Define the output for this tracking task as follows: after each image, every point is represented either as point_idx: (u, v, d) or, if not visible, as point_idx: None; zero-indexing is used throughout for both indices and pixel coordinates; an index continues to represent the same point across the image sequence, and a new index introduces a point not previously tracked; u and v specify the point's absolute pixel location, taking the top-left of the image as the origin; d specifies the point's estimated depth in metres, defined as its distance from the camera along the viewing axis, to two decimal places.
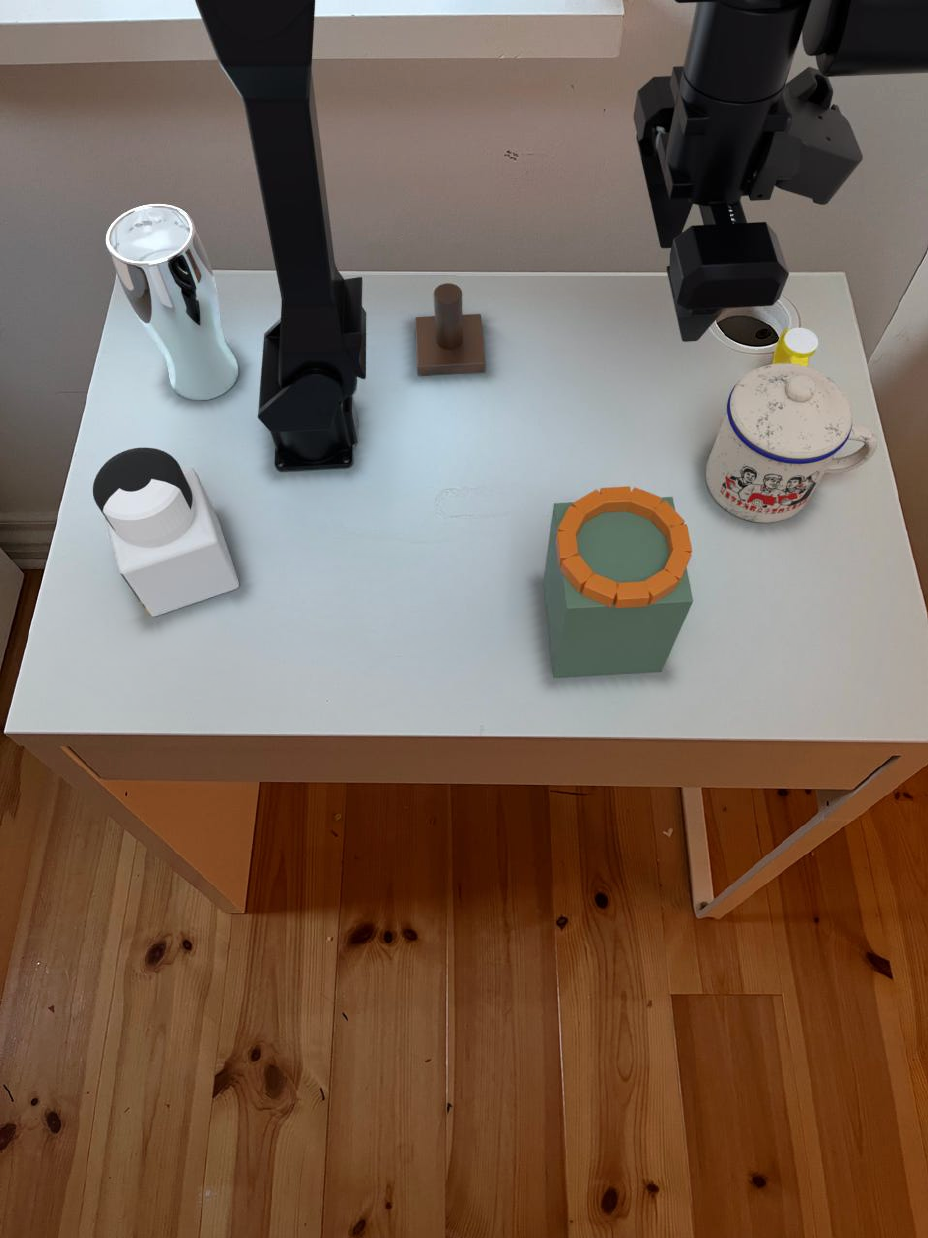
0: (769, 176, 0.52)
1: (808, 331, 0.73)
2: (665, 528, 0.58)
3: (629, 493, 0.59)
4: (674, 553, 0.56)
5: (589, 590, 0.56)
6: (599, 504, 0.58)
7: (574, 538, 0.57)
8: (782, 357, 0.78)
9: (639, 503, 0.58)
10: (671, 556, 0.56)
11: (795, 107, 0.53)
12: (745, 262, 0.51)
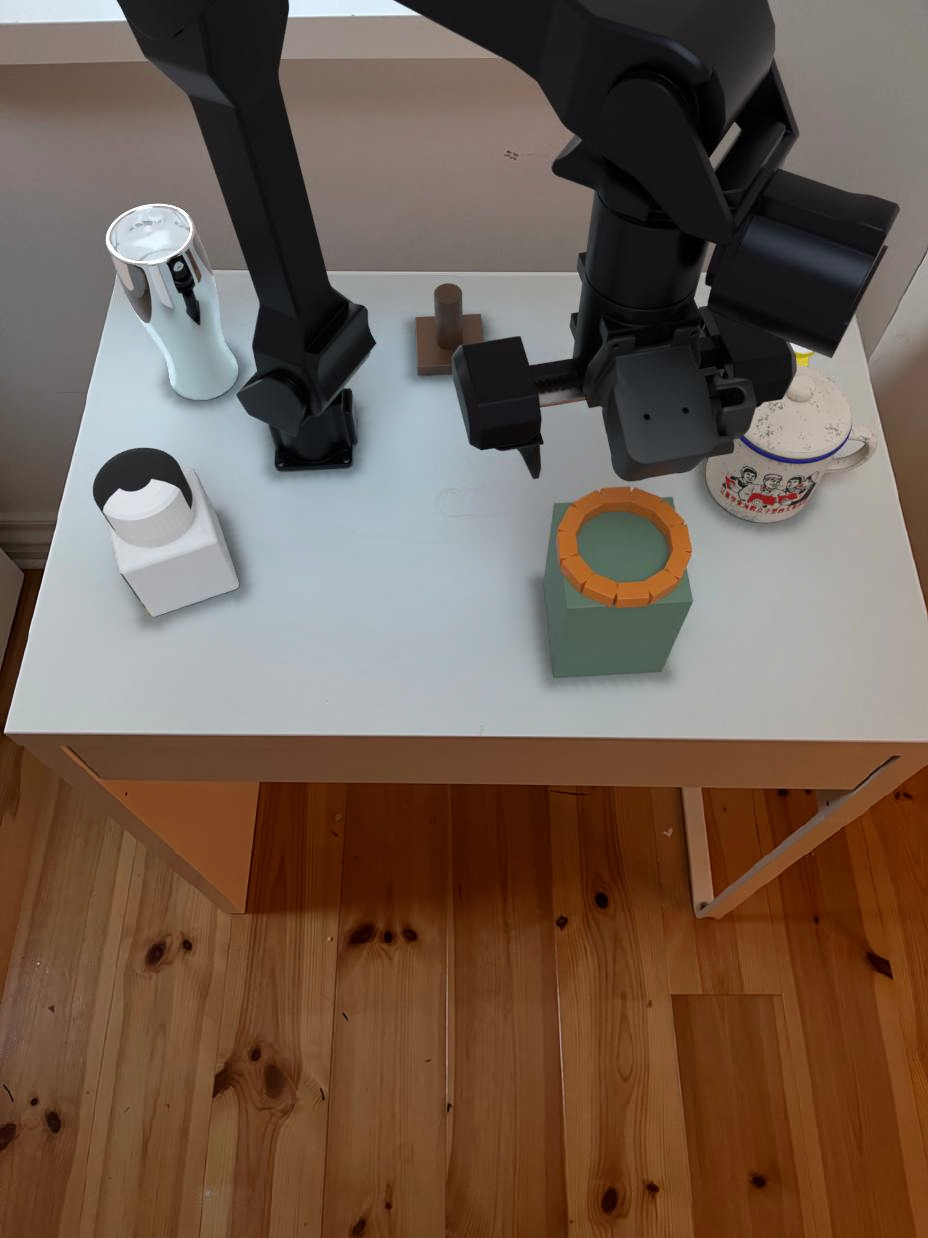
0: (589, 380, 0.47)
1: None
2: (665, 528, 0.58)
3: (629, 493, 0.59)
4: (674, 553, 0.56)
5: (589, 590, 0.56)
6: (599, 504, 0.58)
7: (574, 538, 0.57)
8: None
9: (639, 503, 0.58)
10: (671, 556, 0.56)
11: (680, 377, 0.45)
12: (473, 379, 0.49)
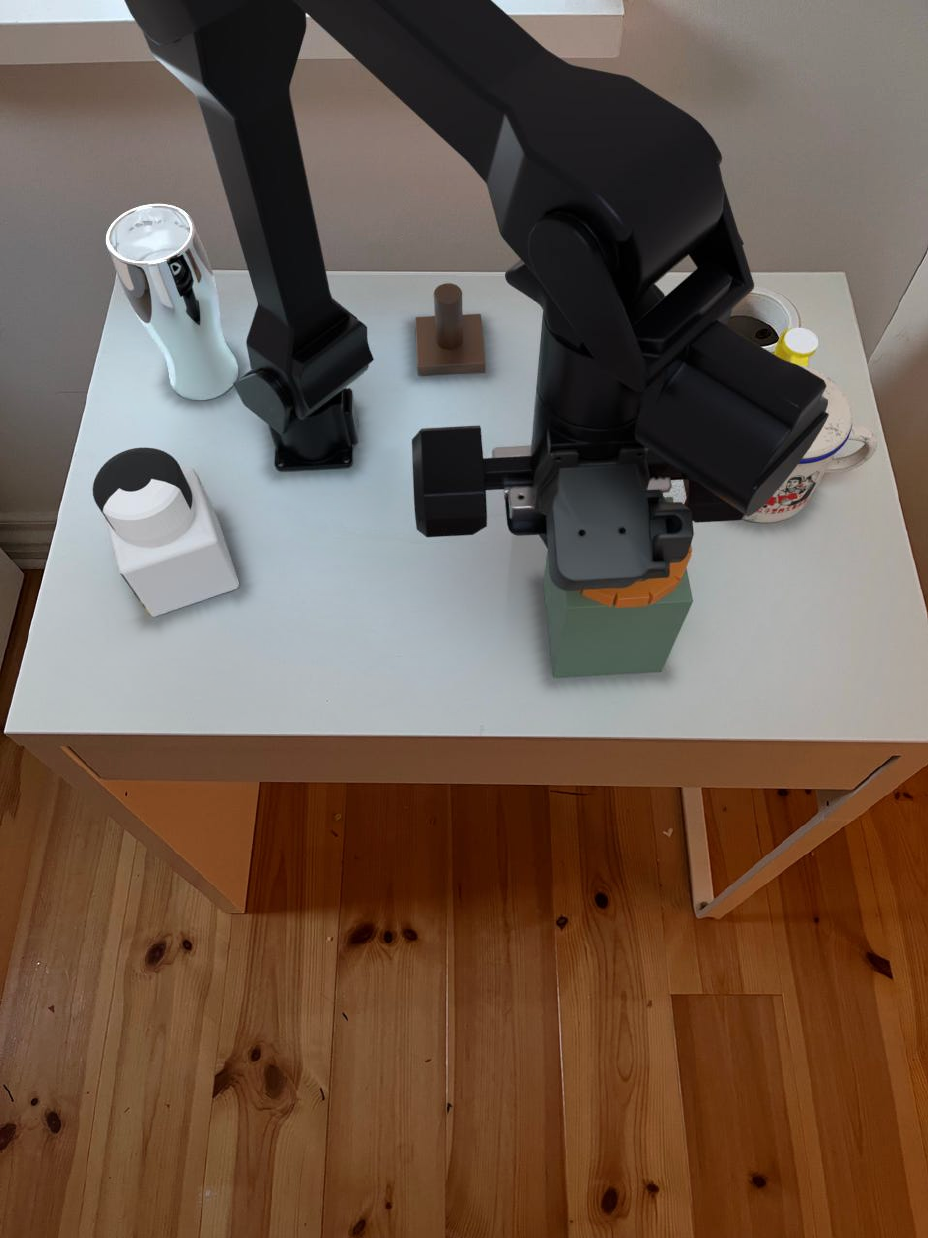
0: (535, 485, 0.47)
1: (808, 331, 0.73)
2: None
3: None
4: None
5: (589, 590, 0.56)
6: None
7: None
8: (782, 357, 0.78)
9: None
10: None
11: (622, 496, 0.44)
12: (425, 468, 0.48)
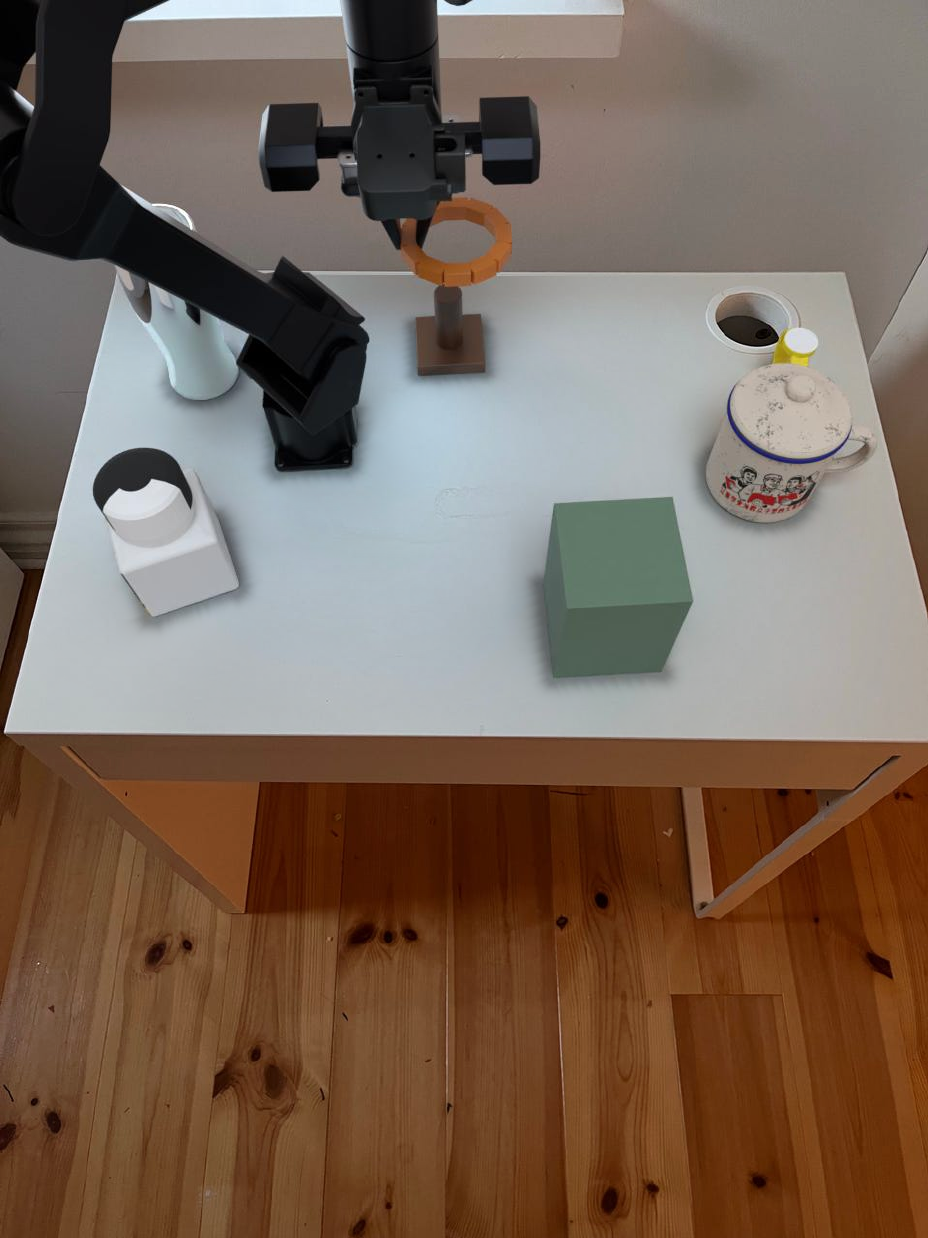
0: None
1: (808, 331, 0.73)
2: (493, 228, 0.68)
3: (465, 201, 0.69)
4: (496, 243, 0.67)
5: (422, 269, 0.66)
6: (439, 208, 0.69)
7: (414, 231, 0.68)
8: (782, 357, 0.78)
9: (473, 208, 0.69)
10: (493, 245, 0.67)
11: (413, 128, 0.55)
12: (269, 128, 0.59)
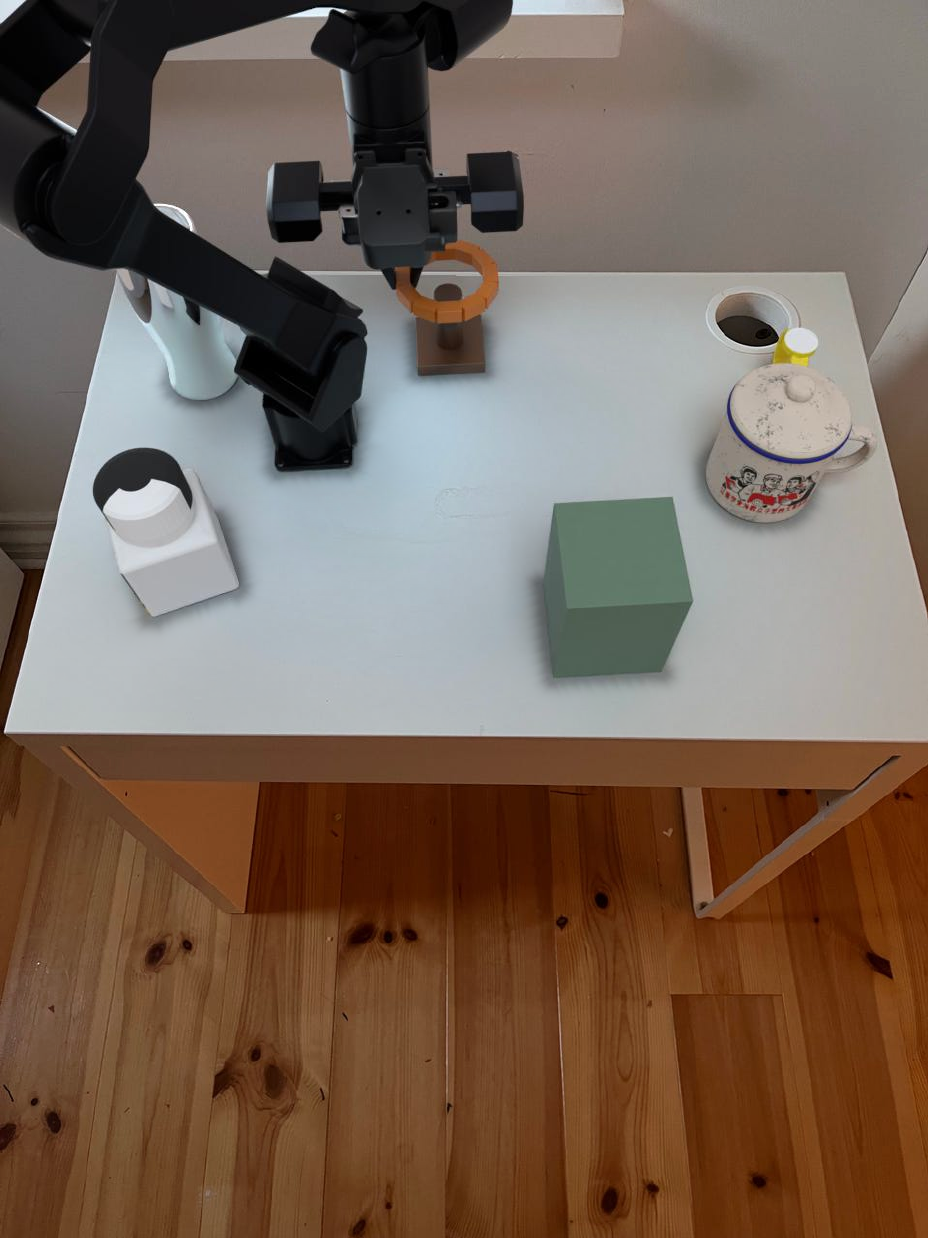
0: None
1: (808, 331, 0.73)
2: (480, 267, 0.74)
3: (454, 243, 0.75)
4: (484, 282, 0.73)
5: (416, 307, 0.72)
6: None
7: (408, 272, 0.73)
8: (782, 357, 0.78)
9: (461, 249, 0.75)
10: (482, 284, 0.73)
11: (409, 187, 0.61)
12: (275, 186, 0.65)
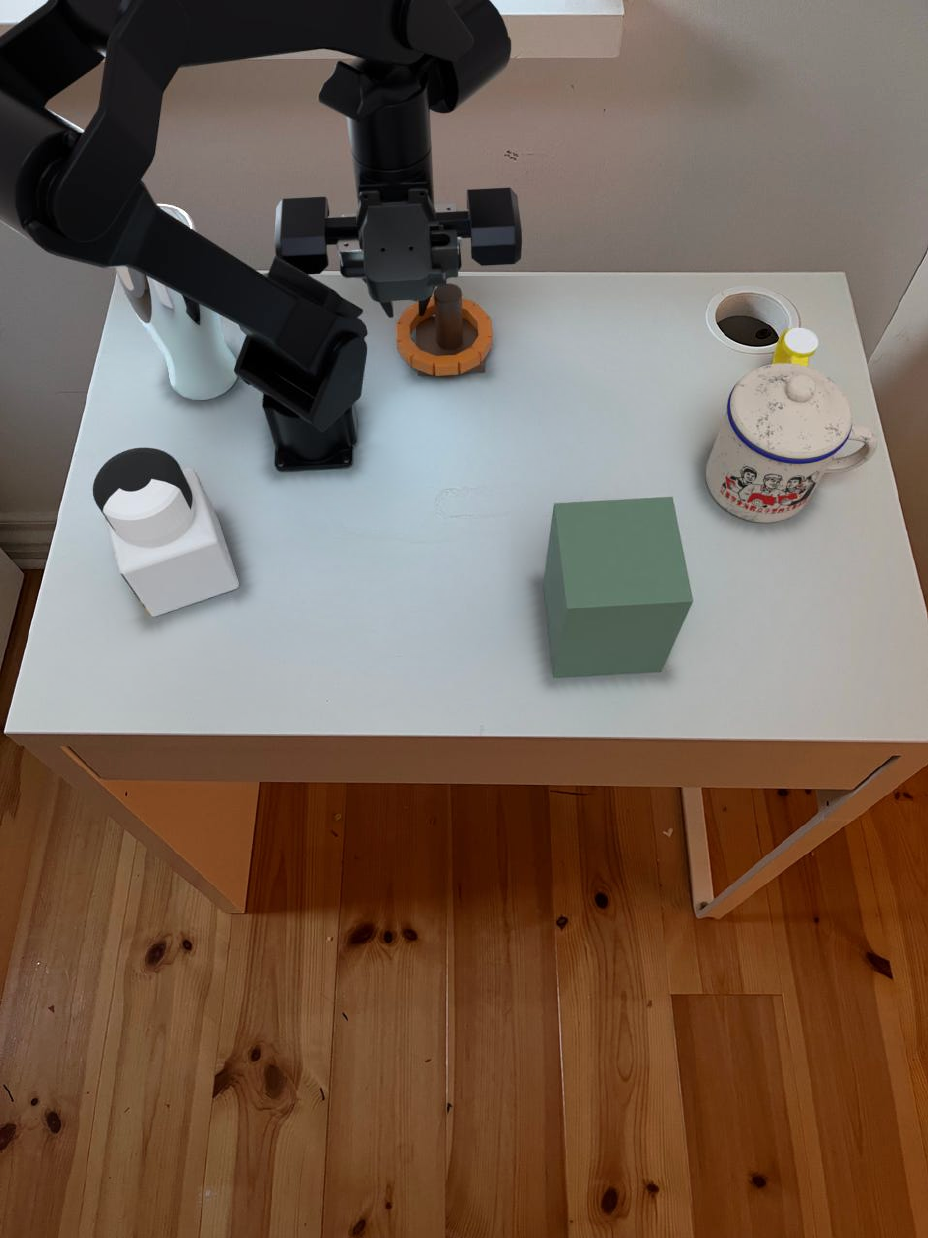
0: None
1: (808, 331, 0.73)
2: (476, 322, 0.80)
3: None
4: (479, 337, 0.78)
5: (416, 361, 0.77)
6: (429, 306, 0.80)
7: (408, 328, 0.79)
8: (782, 357, 0.78)
9: None
10: (476, 339, 0.78)
11: (411, 225, 0.63)
12: (283, 221, 0.68)
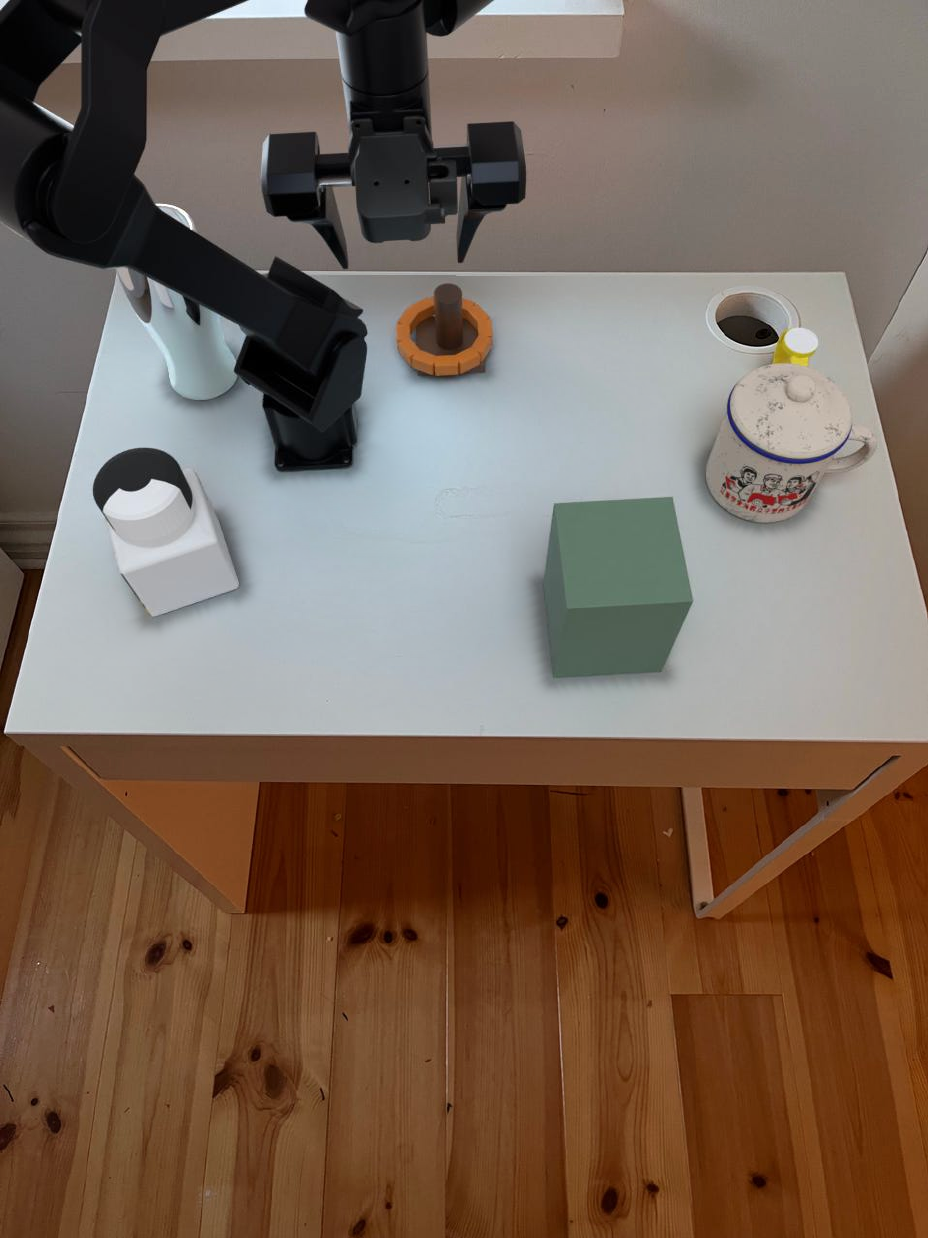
0: None
1: (808, 331, 0.73)
2: (476, 322, 0.80)
3: None
4: (479, 337, 0.78)
5: (416, 361, 0.77)
6: (429, 306, 0.80)
7: (408, 328, 0.79)
8: (782, 357, 0.78)
9: None
10: (476, 339, 0.78)
11: (407, 156, 0.59)
12: (270, 157, 0.63)
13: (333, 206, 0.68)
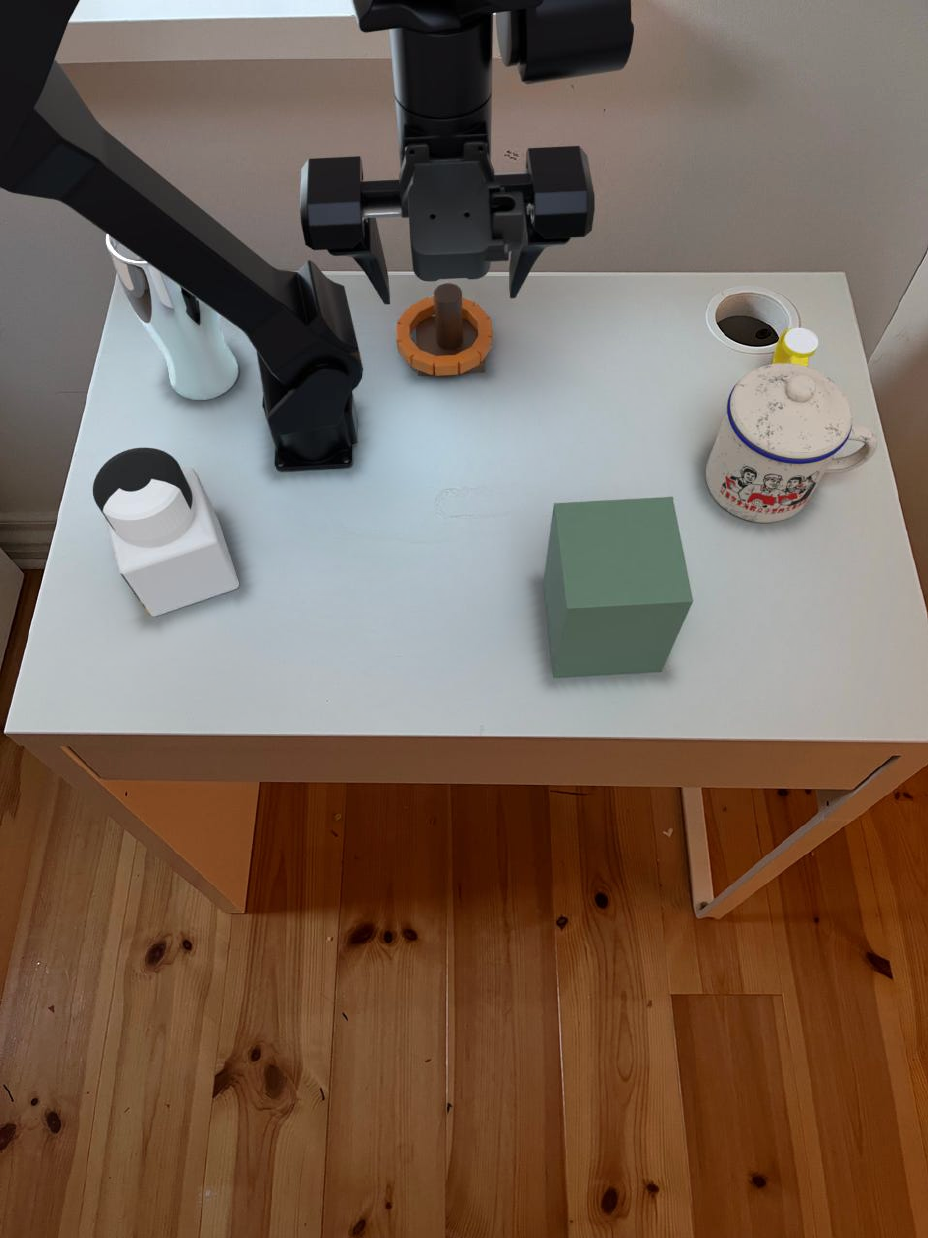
0: None
1: (808, 331, 0.73)
2: (476, 322, 0.80)
3: None
4: (479, 337, 0.78)
5: (416, 361, 0.77)
6: (429, 306, 0.80)
7: (408, 328, 0.79)
8: (782, 357, 0.78)
9: None
10: (476, 339, 0.78)
11: (467, 186, 0.53)
12: (310, 185, 0.57)
13: (376, 237, 0.62)
